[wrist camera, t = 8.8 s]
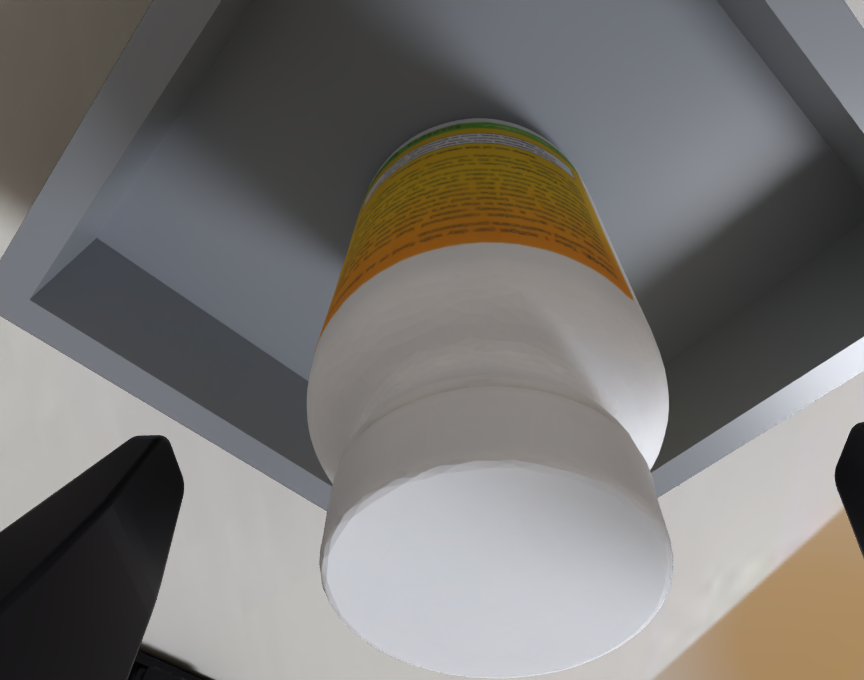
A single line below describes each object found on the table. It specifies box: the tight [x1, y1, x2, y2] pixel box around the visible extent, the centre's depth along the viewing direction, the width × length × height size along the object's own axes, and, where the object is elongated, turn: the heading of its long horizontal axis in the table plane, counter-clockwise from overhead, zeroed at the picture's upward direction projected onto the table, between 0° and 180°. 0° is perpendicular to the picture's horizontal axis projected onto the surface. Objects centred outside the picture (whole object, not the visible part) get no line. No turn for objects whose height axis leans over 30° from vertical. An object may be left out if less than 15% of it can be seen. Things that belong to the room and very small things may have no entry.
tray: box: [0, 0, 864, 511], centre depth 14 cm, size 15×15×4 cm
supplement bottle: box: [307, 118, 673, 678], centre depth 11 cm, size 5×5×10 cm
